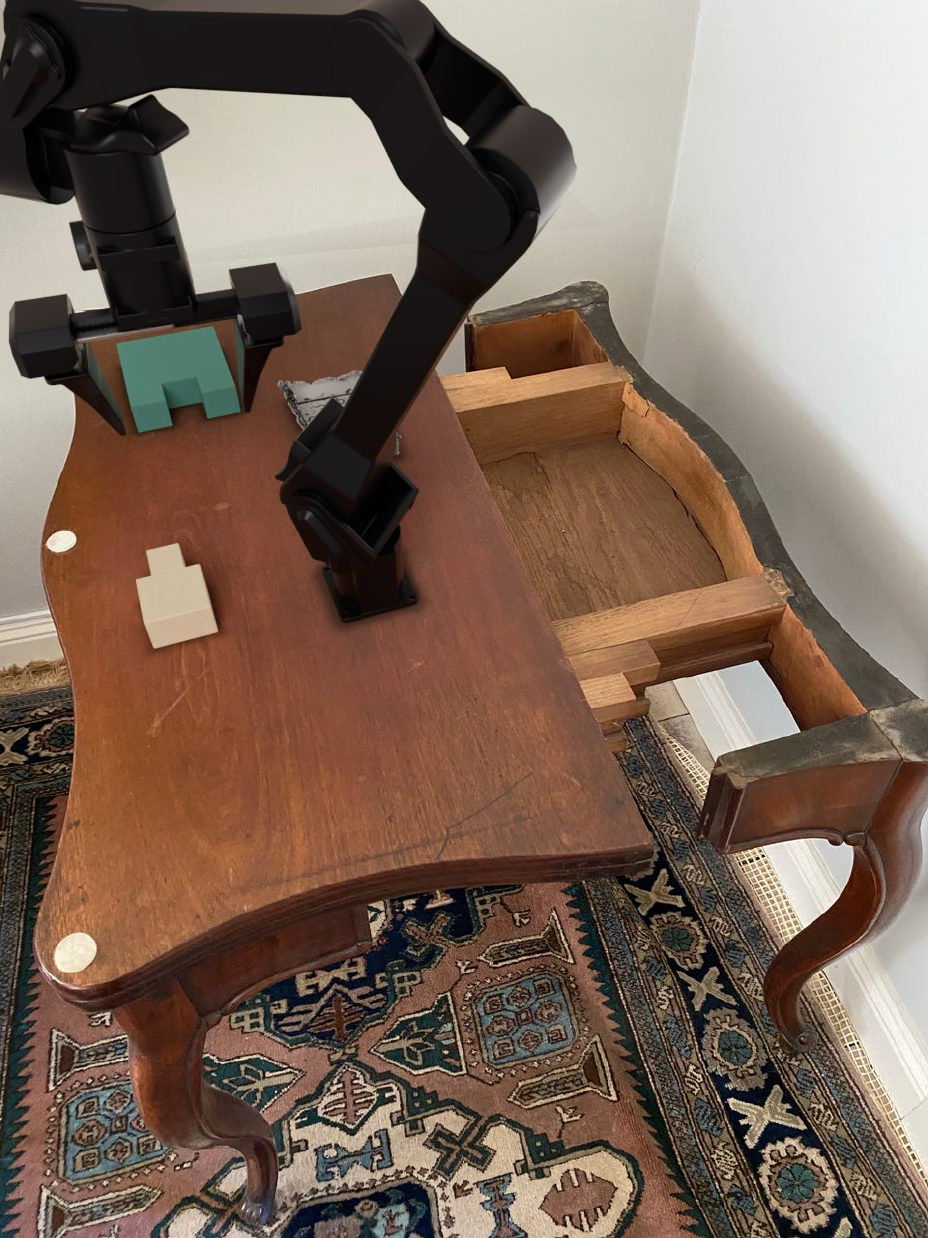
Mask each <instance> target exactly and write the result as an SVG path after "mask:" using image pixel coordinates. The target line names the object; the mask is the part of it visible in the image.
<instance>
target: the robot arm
mask: <svg viewBox="0 0 928 1238" xmlns="http://www.w3.org/2000/svg"><path fill="white" fill-rule="evenodd" d="M4 3H5V4H4V8H3V12H2V20H3V21H2V22H3V24H2V25H3V32H4V41H3V45H2V49H1V54H0V195H2V196H6V197H12V198H16V199H22V200H27V201H32V202H38V203H42V204H47V205H54V206H60V205H64V204H67V203H68V202H70V201H71V200H72V199H73V198H75V202H76V205H77V208H78V211H79V215H80V218H81V219H80V220H72V221H69V222H68V226H69V229H70V234H71V239H72V241H73V245H74V250H75V252H76V256H77V260H78V263H79V266H80V269H81V270H82V271H83V272H87V271H94V270H95V271H96V270H97V271H98V275H99V278H100V282H101V285H102V287H103V291H104V294H105V297H106V301H107V303H108V307H105V308H98V309H93V310H85V311H79V312H76V311H75V308H74V305H73V302H72V300H71V298H70V297H69V295H68V293H63V294H61V293H60V294H56V295H49V296H42V297H36V298H28V299H22V300H15V301H14V302H13V304H12V306H11V308H10V310H9V311H8V343H9V344H8V345H9V348H10V352H11V355H12V358H13V360H14V362H15V365H16V367H17V370H18V372H19V375H20V376H21V377H23V378H26V379H29V380H33V379H38V378H44V381H45V383H46V384H47V385H48V386H64V388H66V389H67V390H68V391H70V392H71V393H73V394H74V395H75V396H77V397H78V398H79V399H81V400H82V401H83V402H85V403H86V404H87V405H89V406H90V407H91V408H92V409H93V410H94V411H95V412H96V413H97V414H98V415H99V416H100V417H101V418H102V419H104V421H105V422H106V423H107V424H108V425H109V426H110V427H111V428H112V429H113V430H114V431H115V432H116V433H117V434H118V435H119V436H121V437H126V436H127V435H128V434H127V427H126V424H125V422H124V421H125V420H124V418H123V415H122V412H121V409H120V407H119V404H118V403H117V400H116V398H115V396H114V393H113V392H112V390H111V387H110V385H109V384H108V381H107V378H106V377H105V375H104V372H103V371H102V369H101V366H100V363H98V360H97V357H96V356H95V355H96V354H95V352H94V349H93V346H92V343H93V342H98V341H99V342H100V341H104V340H105V341H107V340H111V339H117V338H125V337H131V336H137V335H142V334H148V333H154V332H161V331H167V330H174V329H178V328H185V327H190V326H199V325H203V324H210V323H215V322H222V321H228V320H229V321H230V320H232V322H233V330H234V335H235V336H234V337H235V350H236V362H237V374H238V375H237V376H238V387H239V391H240V392H239V393H240V398H241V402H242V406H243V410H244V413H245V414H249V413H251V412H252V408H253V404H254V400H255V398H256V393H257V390H258V385H259V382H260V378H261V376H262V372H263V371H264V368H265V366H266V363H267V361H268V359H269V357H270V355H271V352H272V350H274V349H276V348H277V349H278V348H280V347H282V346H284V345H285V341H286V340H285V337H287V336H294V335H297V334H298V333H299V332H300V331H301V330H303V329H302V328H303V327H302V321H301V315H300V314H301V313H300V307H299V303H298V299H297V295H296V293H295V290H294V288H293V286H292V283H291V281H290V279H289V276H288V273H287V271H286V269H284V267H283V266H281V265H280V264H279V263H277V262H276V261H275V262H268V263H262V264H261V263H260V264H256V265H249V266H241V267H236V268H235V267H234V268H229V269H228V276H229V277H228V278H229V282H230V286H231V287H230V288H228V289H221V290H215V291H208V292H202V293H201V292H200V293H197V292H196V288H195V284H194V278H193V274H192V269H191V265H190V261H189V256H188V253H187V249H186V245H185V241H184V237H183V232H182V229H181V224H180V220H179V216H178V212H177V207H176V204H175V199H174V196H173V190H172V187H171V183H170V177H169V173H168V170H167V165H166V161H165V157H164V152H165V151H166V150H168V149H169V148H171V147H172V146H174V145H176V144H177V143H179V142H181V141H182V140H184V139H185V138H187V137H188V136H189V135H190V132H191V131H190V127H189V126H188V124H187V123H186V122H185V121H184V120H183V119H182V118H180V117H179V116H178V114H176V113H174V112H173V111H171V110H170V109H168V108H166V107H165V106H164V105H163V104H162V103H161V102H160V101H159V99H158V98H157V96H156V95H154V94H152V93H153V92H158V91H163V90H169V89H181V90H197V91H217V92H233V93H235V92H236V93H251V94H270V95H271V94H273V95H287V96H288V95H289V96H307V97H325V98H342V99H343V98H344V99H351V100H352V102H354V104H355V105H356V106H357V107H358V108H359V109H360V110H361V112H363V114H364V115H365V116H366V117H367V118H368V119H369V121H370V122H371V124H372V126H373V129H374V130H375V132H376V134H377V137H378V139H379V141H380V143H381V145H382V147H383V149H384V151H385V153H386V156H387V157H388V159H389V162H390V163H391V165H392V168H393V170H394V172H395V174H396V177H397V178H398V179H399V181H400V182H401V184H402V185H403V186H404V187H405V188H406V189H407V191H408V192H409V193H410V194H411V195H412V196H413V197H414V198H415V199H416V200H417V202H418V203H419V204H420V205H421V206H422V207H423V208H424V211H423V214H422V217H421V218H422V219H421V222H420V225H419V229H418V232H417V239H416V241H417V243H416V262H415V263H416V264H415V269H414V273H413V275H412V277H411V279H410V281H409V283H408V285H407V287H406V289H405V291H404V292H403V293H402V296H401V297H400V300H399V301H398V303H397V305H396V307H395V310H394V311H393V313H392V315H391V317H390V318H389V320H388V322H387V324H386V326H385V328H384V330H383V332H382V334H381V336H380V338H379V339H378V341H377V343H376V345H375V347H374V349H373V350H372V352H371V354H370V356H369V359H368V360H367V362H366V364H365V367H364V368H363V369H362V371H363V372H362V374H361V375H360V377H359V379H358V381H357V383H356V385H355V387H354V389H353V391H352V392H351V394H350V396H349V398H348V400H347V402H346V404H345V406H344V407H343V406H342V405H341V404H340V403H339V402H338V401H337V400H336V399H335V398H333V397H331V398H330V400H329V401H328V402H327V403H326V404H325V405H324V407H323V408H322V409H321V410H320V411H319V412H318V414H317V415H316V416H315V417H314V418H313V419H312V421H311V422H310V423H309V424H308V425H307V426H306V428H305V429H302V431H301V432H300V434H299V435H298V436H297V437H296V438H295V439H294V440H293V442H292V444H291V446H290V449H289V452H288V456H287V461H286V463H284V465H283V466H282V467H281V468H280V469H279V470H278V472H277V473H276V474H275V475H274V479H275V480H277V481H280V482H282V484H281V485H280V487H279V493H278V494H279V501H280V503H281V504H282V505H284V506H285V508H286V510H287V511H286V512H287V514H288V516H289V519H290V521H291V522H292V524H293V526H294V527H295V530H296V531H297V534H298V535H299V537H300V539H301V541H302V542H303V544H304V546H305V548H306V550H307V551H308V553H309V556H310V557H311V558H312V559H313V560H315V561H318V562H321V563H324V564H325V565H323V566H322V567H321V574H322V576H323V579H324V581H325V584H326V587H327V589H328V591H329V595H330V597H331V600H332V602H333V605H334V607H335V611H336V612H337V615H338V617H339V620H340V622H341V623H343V624H348V623H353V622H357V621H360V620H364V619H367V618H371V617H375V616H378V615H383V614H385V613H390V612H393V611H397V610H400V609H405V608H408V607H413V606H415V605H417V604H418V602H419V595H418V594H417V591H416V589H415V586H414V585H413V583H412V580H411V578H410V576H409V574H408V572H407V570H406V568H405V565H404V559H403V543H402V542H403V541H402V540H403V539H402V527H401V523H402V521H403V519H404V518H405V516H406V515H407V513H408V512H409V510H411V509H412V508H413V506H414V504H415V502H416V500H417V497H418V495H419V494H420V488H419V487H418V486H417V485H416V484H415V483H414V481H412V480H411V478H409V477H408V475H407V474H406V473H405V472H404V471H403V470H402V469H401V468H400V467H399V465H397V464H396V463H395V462H394V460H393V459H394V453H395V450H396V434H397V431H399V428H400V426H401V424H402V423H403V421H404V420H405V418H406V416H408V413H409V412H410V410H411V409H412V407H413V405H414V403H415V401H416V400H417V398H418V397H419V395H420V394H421V392H422V390H423V389H424V387H425V385H427V382H428V381H429V379H430V378H431V376H432V374H433V373H434V371H435V369H436V368H437V367H438V364H439V363H440V361H441V359H442V358H443V356H444V355H445V353H446V352H447V350H448V348H449V347H450V345H451V343H452V342H453V340H454V339H455V337H456V336H457V334H458V333H459V331H460V329H461V327H462V325H463V324H464V323H465V321H466V319H467V318H468V316H469V315H470V313H471V311H472V310H473V308H474V307H475V304H477V302H478V301H479V300H480V299H482V298H483V296H485V295H486V294H487V293H488V292H489V291H490V290H491V289H493V287H494V286H495V285H496V284H497V283H498V282H499V281H500V280H501V279H502V278H503V277H504V276H505V275H506V274H507V272H509V270H510V269H511V268H512V267H513V266H514V265H515V264H516V263H517V262H518V261H519V260H520V259H521V258H522V257H523V256H524V255H525V254H526V252H527V251H528V250H529V249H530V247H531V246H532V245H533V243H534V242H535V240H536V239H537V238H538V236H539V235H540V234H541V233H542V231H543V230H544V228H545V227H546V226H547V224H548V223H549V221H550V220H551V219H552V217H553V216H554V215H555V214H556V212H557V211H558V209H559V208H560V207H561V206H562V205H563V203H564V201H565V200H566V199H567V198H568V196H569V194H570V193H571V191H572V188H573V186H574V184H575V181H576V175H577V171H578V170H577V169H578V166H577V163H576V161H575V156H574V150H573V145H572V143H571V141H570V139H569V138H568V135H567V133H566V131H565V130H564V129H563V127H562V126H561V125H560V124H559V123H558V122H557V121H556V120H555V118H554V117H553V116H552V115H549V114H547V113H546V112H544V111H543V110H540V109H539V108H537V107H533V106H531V104H530V103H529V102H528V101H527V100H526V98H525V97H524V96H523V95H522V94H521V92H520V91H519V90H518V89H517V88H516V86H515V85H514V84H513V83H512V82H511V81H510V79H509V78H508V77H507V75H505V74H504V73H503V71H501V70H500V69H498V68H497V67H496V66H494V65H493V64H491V63H490V62H489V61H487V60H486V59H484V58H483V57H482V56H480V55H479V54H477V53H476V52H475V51H473V50H472V49H471V48H469V47H468V46H467V45H465V44H464V43H462V42H461V41H460V40H459V39H457V38H456V37H454V36H453V35H452V34H450V32H449V31H448V30H447V29H446V28H445V26H444V25H443V24H442V23H441V22H440V21H439V19H438V18H437V17H436V16H435V14H433V12H432V11H431V10H430V9H429V7H428V6H427V5H426V4H425V3H424V2H422V1H421V0H4ZM143 95H145V96H143ZM140 96H143V97H141V98H140V99H137V100H136V101H133V103H131V104H129V105H125V104H119V103H121V102H124V101H127V100H130V99H133V98H134V99H135V98H137V97H140ZM82 110H84V111H82ZM445 119H446V120H448V121H450V122H451V123H453V124H454V125H456V126H457V127H459V128H460V130H462V131H463V132H464V134H466V136H467V137H468V138H467V139H466V141H464V143H462V141H461V140H460V139H459V138H458V137H457V136H456V135H455V134H454V132H453V131H452V130H451V129H450V127H449V126H448V124H447V122H446V120H445Z"/></svg>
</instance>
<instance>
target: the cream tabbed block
mask: <svg viewBox="0 0 928 1238" xmlns="http://www.w3.org/2000/svg"><path fill="white" fill-rule="evenodd" d="M145 554H146V557H147V563H148V567H149V573H150V575H148V576H143V577H140V578H136V579H135V583H136V584H135V585H136V590H137V594H138V600H139V604H140V605H139V606H140V611H141V615H142V620H143V625H144V627H145V629H146V630H145V631H146V633H147V635H148V638H149V640H150V643H151V645H152V648H153V649H160V648H163V647H167V646H171V645H175V644H178V643H182V642H186V641H189V640H193V639H197V638H200V637H205V636H208V635H213V634H217V633H219V627H218V624H217V621H216V617H215V616H216V615H215V613H214V609H213V605H212V602H211V601H212V600H211V598H210V594H209V590H208V586H207V583H206V580H205V576H204V573H203V570H202V565H201V564H200V563H197V564H193V565H188V566H186V562H185V559H184V556H183V552H182V550H181V547H180V544H179V542H177V543H171V544H168V545H164V546H160V547H159V546H158V547H155V548H151V549H147V550H146V553H145Z"/></svg>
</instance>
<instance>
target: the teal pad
mask: <svg viewBox="0 0 928 1238" xmlns="http://www.w3.org/2000/svg"><path fill="white" fill-rule="evenodd" d="M116 348H117V353H118V354H117V355H118V357H119V363H120V366H121V370H122V371H121V372H122V375H123V380H124V384H125V388H126V392H127V398H128V402H129V405H130V409H131V413H132V415H133V419H134V422H135V425H136V428H137V432H138V434H139V433H140V434H141V433H144V432H145V433H146V432H149V431H154V430H159V429H165V428H169V427H173V426H174V424H173V420H172V418H171V414H170V409H175V408H181V407H186V406H191V405H196V404H201V403H202V405H203V409H204V411H205V415H206V417H207V419H213V418H218V417H224V416H227V415H233V414H237V413H241V406H240V402H239V396H238V392H237V387H236V385H235V381H234V379H233V376H232V373H231V370H230V368H229V365H228V362H227V359H226V357H225V355H224V352H223V349H222V346H221V344H220V341H219V339H218V336H217V333H216V330H215V327H214V326H213V325H211V326H206V327H201V328H195V329H188V330H184V331H179V332H172V333H167V334H161V335H156V336H151V337H145V338H139V339H132V340H128V341H123V342H117V343H116Z"/></svg>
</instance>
